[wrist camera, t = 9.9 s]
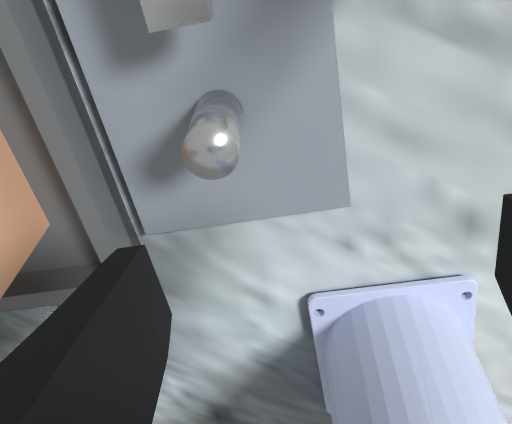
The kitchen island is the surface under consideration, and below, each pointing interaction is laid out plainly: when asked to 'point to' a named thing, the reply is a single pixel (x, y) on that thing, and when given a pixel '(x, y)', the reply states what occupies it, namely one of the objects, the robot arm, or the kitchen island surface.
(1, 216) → the orange hollow square box
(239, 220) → the slate board
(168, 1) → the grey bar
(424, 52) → the kitchen island surface
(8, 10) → the tray
